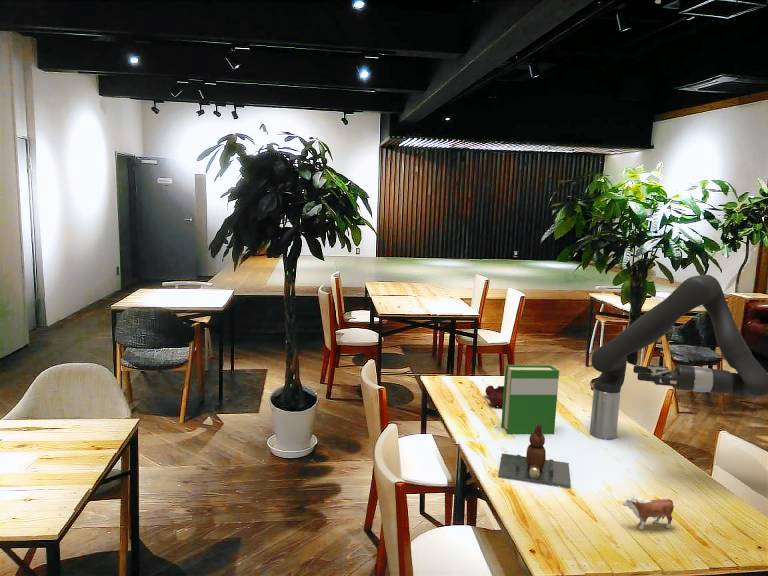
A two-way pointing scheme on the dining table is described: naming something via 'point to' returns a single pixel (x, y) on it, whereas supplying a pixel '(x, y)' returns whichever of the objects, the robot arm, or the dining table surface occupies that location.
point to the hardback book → (529, 398)
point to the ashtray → (495, 395)
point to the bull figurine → (650, 509)
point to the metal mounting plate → (534, 471)
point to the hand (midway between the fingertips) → (635, 372)
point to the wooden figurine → (536, 448)
